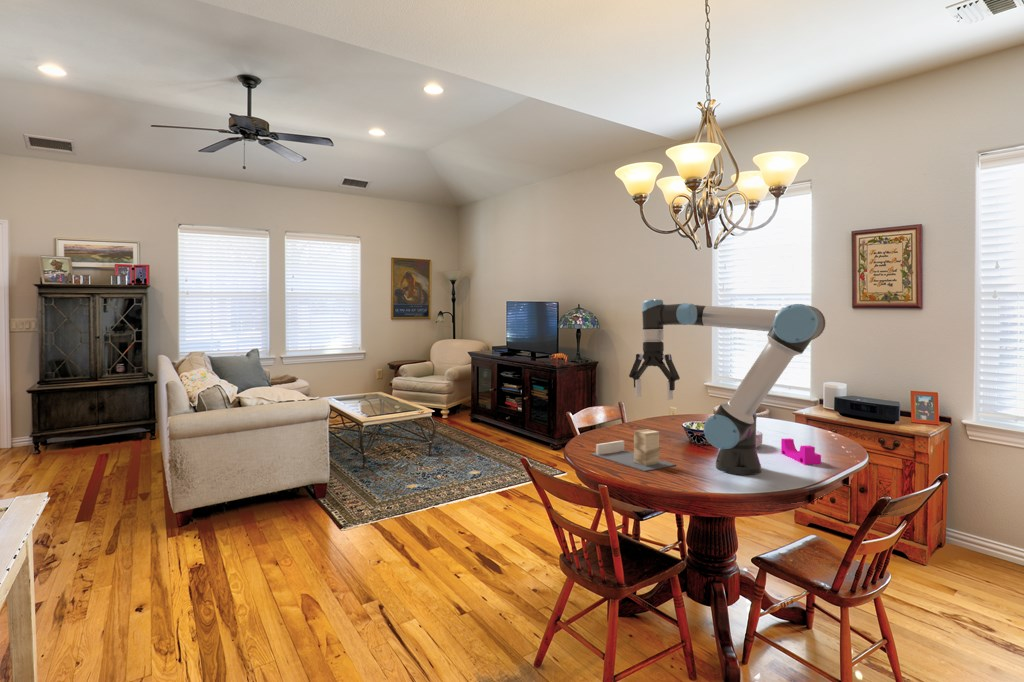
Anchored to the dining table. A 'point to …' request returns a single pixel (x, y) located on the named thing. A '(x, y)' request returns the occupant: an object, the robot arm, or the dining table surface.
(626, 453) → the gray ramp
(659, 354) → the robot arm
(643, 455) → the beech block
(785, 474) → the dining table surface
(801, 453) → the toy block
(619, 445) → the stop rail
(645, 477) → the dining table surface
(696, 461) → the dining table surface
